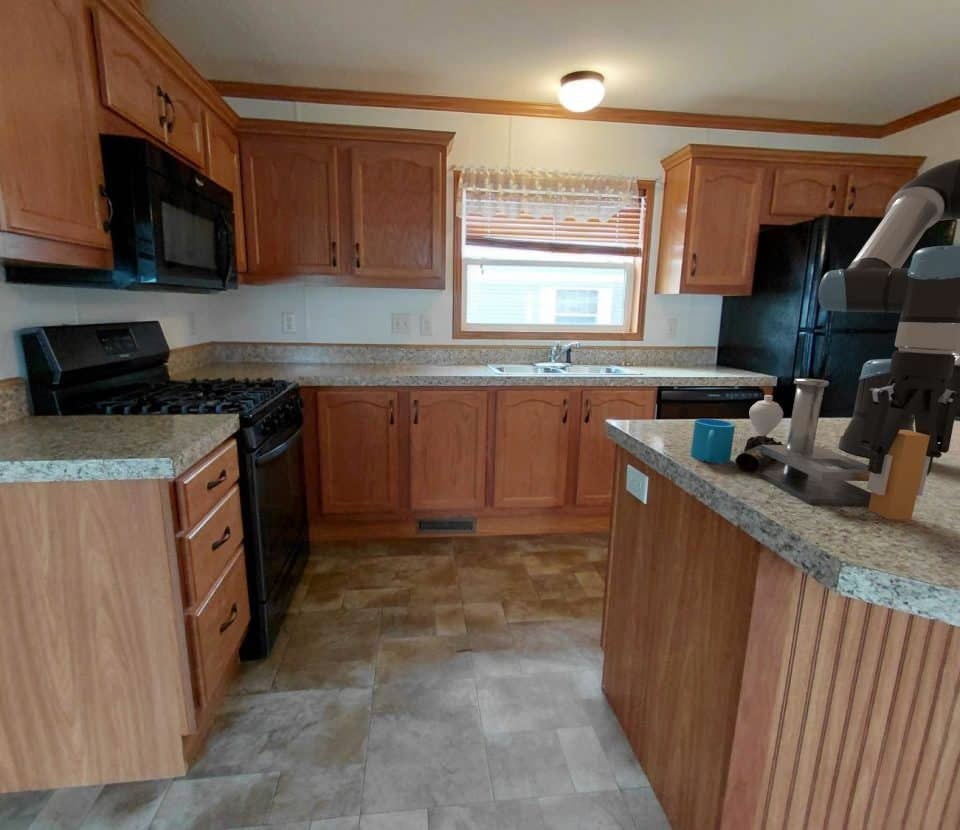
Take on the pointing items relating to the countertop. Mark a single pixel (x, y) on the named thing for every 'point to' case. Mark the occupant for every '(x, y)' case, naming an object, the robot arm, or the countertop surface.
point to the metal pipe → (755, 454)
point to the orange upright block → (902, 476)
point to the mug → (712, 440)
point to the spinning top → (765, 415)
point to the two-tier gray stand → (814, 457)
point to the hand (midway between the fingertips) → (893, 492)
